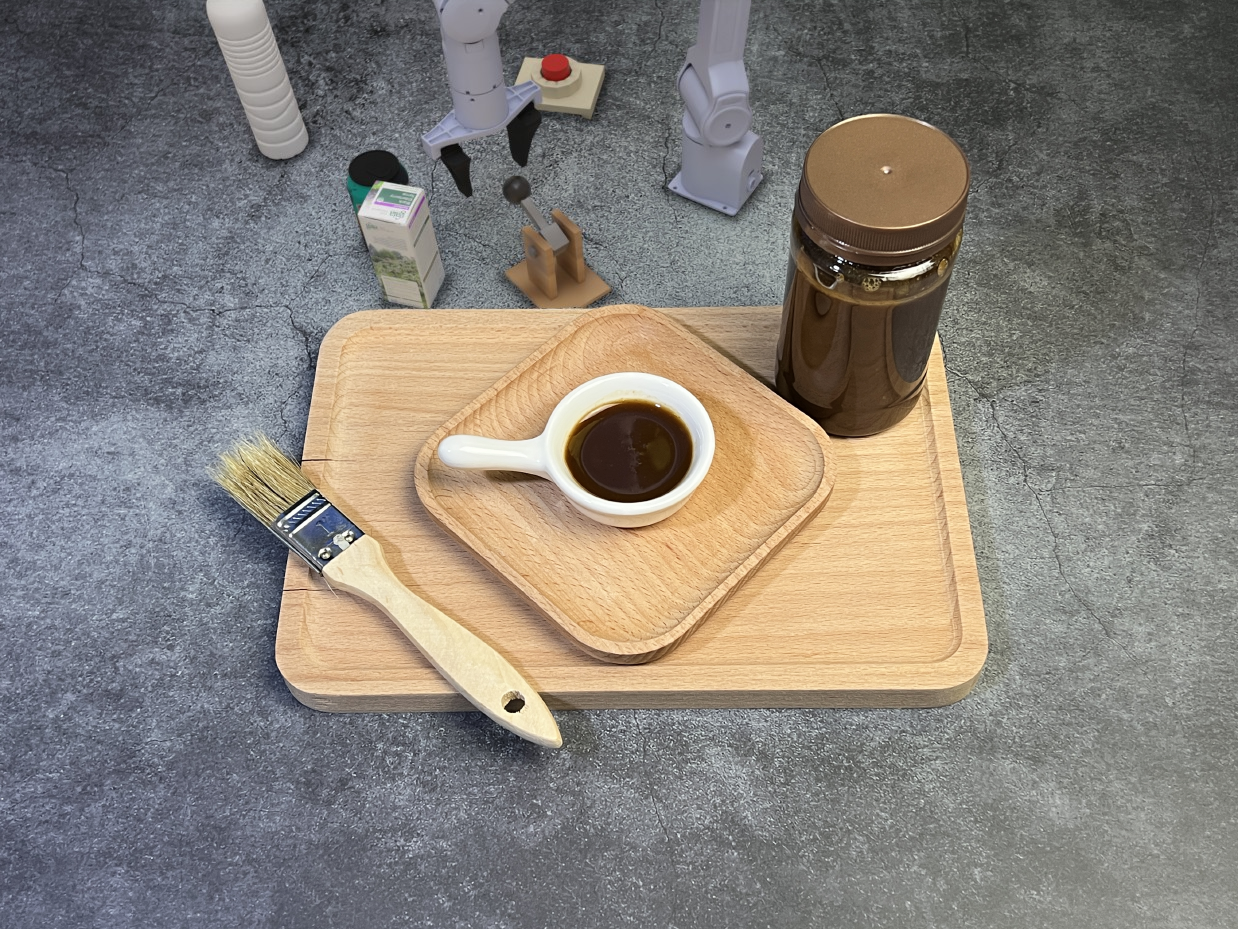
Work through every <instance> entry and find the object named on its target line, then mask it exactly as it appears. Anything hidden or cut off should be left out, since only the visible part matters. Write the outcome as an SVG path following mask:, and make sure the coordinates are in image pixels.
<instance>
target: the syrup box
mask: <svg viewBox="0 0 1238 929" xmlns="http://www.w3.org/2000/svg"><path fill="white" fill-rule="evenodd" d="M357 215H358V218H359V221H360V224H361V228H362V231H363V234H364V237H365V240H366V243H367V246H368V249H369V252H370V253H369V252H368V253H369V255H370V259H371V261H372V265H373V268H374V272H375V274H376V278H377V280H378V283H379V285H380V289H381V293H382V296H383V299H384V301H386V302H390V303H394V304H400V305H404V306H409V307H414V308H418V309H423V308H431V307H432V305H433V303H434V301H435V299H436V296H437V294H438V293H439V290H440V288H441V286H442V284H443V282H444V281H445V278H446V273H445V269H444V266H443V262H442V259H441V254H440V250H439V246H438V241H437V238H436V234H435V233H436V232H435V230H434V224H433V221H432V217H431V216H432V215H431V211H430V207H429V204H428V199H427V195H426V192H425V189H424V188H421V187H415V186H411V187H410V186H405V185H399V184H394V183H388V182H383V181H378V180H377V181H376V182H375V183H374V185H373V187H372V188H371V190H370V191H369V193H368V195H367V196H366V198H365V200H364V202H363V204H362V206H361V208H360V211H359V212H358V214H357Z"/></svg>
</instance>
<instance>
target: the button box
mask: <svg viewBox="0 0 1238 929" xmlns="http://www.w3.org/2000/svg"><path fill="white" fill-rule="evenodd" d="M564 56H565V57H567V58H568V60H569V69H570V74H569V77H568V78H566V79H565V80H562V81H558V82H554V81H548V80H546V79H544V77H543V74H542V65H541V63H542V60H543V59H544V58H545V57H542V58H536V57H528V56H527V57H526V56H525V57H524V58H523V61H522V65H521V67H520V70H519V72H518V75H517V78H516V80H515V82H514V85H518V84H521V83H524V82H526V81H529V80H532V81H533V82H535V83H536V84H537V85H538V86H539V87H541V90H542V100H543V102H542V103H540V104H538V105H534V107H535V108H536V109H537V110H538V111H546V112H554V113H564V114H571V115H581V116H582V117H583V118H584V119H586V120H592V118H593V114H594V111H595V107H596V104H597V101H598V99H599V96H600V92H601V89H602V85H603V83H604V79H605V76H606V74H605V73H606V70H605V65H603V64H594V63H585V62H578V61H577V60H575V59H573V58H571V57H570V56H568V55H567V56H566V55H564Z"/></svg>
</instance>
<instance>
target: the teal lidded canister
mask: <svg viewBox="0 0 1238 929" xmlns="http://www.w3.org/2000/svg"><path fill="white" fill-rule="evenodd" d="M347 169H348V170H347V172H348V174H347V177H346V184H345V185H346V189H347V192H348V195H349V198H350V202H351V205H352V208H353V211H354V214H355V218H356V220H357V224H358V227H359V230H360V234H361V236H362V240H363V243H364V246H365V249H366V250H367V252H368V253H369V254H370V252H369V249H368V246H367V243H366V240H365V237H364V234H363V231H362V228H361V224H360V221H359V218H358V215H357V214H358V212H359V211H360V208H361V206H362V204H363V202H364V200H365V198H366V196H367V195H368V193H369V191H370V190H371V188H372V187H373V185H374V183H375V182H376V181H377V180H378V181H383V182H388V183H394V184H399V185H405V186H410V187H412V184H411V181H410V177H409V172H408V170H407V168H406V167H405V165H404V164H403V163H401V162H400V161H399V158H398V157H397V156H396V155H395V153H392V152H391V151H388V150H385V149H371V150H370V149H369V150H367V151H363V152H362V153H360V154H358V155H356V156H355V157H354V158H353V159H352V160H351V161H350V162H349V165H348V167H347Z"/></svg>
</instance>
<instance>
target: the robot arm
mask: <svg viewBox="0 0 1238 929" xmlns="http://www.w3.org/2000/svg"><path fill="white" fill-rule="evenodd" d="M431 1H432V3H433V5H434V8H435V11H436V13H437V17H438V19H439V24H440V28H439V32H440V36H441V38H442V39H441V46H442V51H443V56H444V62H445V68H446V73H447V78H448V82H449V87H450V93H451V99H452V102H453V109H451V110H450V112H448V113H447V114H446V115H445V117H443V118H442V119H441V120H440V121H439V122H438V123H437V124H436V125H435V126H434V127H433V128H432V129H431V130H429V131H428V132H427V133H424V134H423V135H421V136H420V140H421V144H422V148H423V152H425V153H426V155H428V156H429V157H430V158H431V159H432V160H437V159H440V160H441V162H442V164H443V165H444V166H445V168H446V170H447V171H448V172H449V174H450V176H451V177H452V179H453V181H454V183H455V186H456V188H457V190H458V191H459V192H460V193H461V194H462V195H463V196H464V197H465V198H467V199H469V198H471V197H472V196H473V191H474V190H473V184H472V180H471V161H472V158H471V157H470V156H469V155H467V153H465V151H463V147H462V146H461V145H460V143H463V142H467V141H471V140H475V139H480V138H484V137H488V136H492V135H495V134H497V133H499V132H501V131H502V130H504V129H506V133H507V139H508V145H509V153H510V155H511V158H512V160H513V161H514V162H515V163H517V165H519V167H521V169H524V168H525V167H527V165H528V161H529V155H530V150H531V146H532V142H533V140H534V137H535V136H536V133H537V131H538V130H539V127H540V126H541V124H542V123H543V119H542V113H541V111H540V110H537V109H536V108H535V107H534V105H538V104H540V103H542V102H543V100H542V90H541V87H539V86H538V85H537V84H536V83H535V82H533V81H532V80H529V81H526V82H524V83H521V84H518V85H515V84H514V85H510V86H506V82H505V76H504V70H503V68H504V67H503V63H502V56H501V48H500V39H499V36H498V33H497V29H498V27H499V25H500V21H501V18H502V16H503V15H504V14H505V13H506V12H507V11H508V8H509V6H510V5H511V4H514V2H516V1H517V0H431ZM751 6H752V0H700V6H699V15H698V23H697V24H698V25H697V32H696V42H695V44H694V45H692V46H690V47H688V49H687V50H686V58H685V61H684V63H683V65H682V68H680V70H679V71H678V74H677V76H676V84H675V86H676V90H677V92H678V94H679V96H680V97H681V98H682V99H683V101H684V104H685V106H684V107H685V110H684V112H683V117H682V121H681V122H682V124H681V125H682V129H681V135H682V136H681V167H680V168H681V169H680V170H679V171H678V173H676V175H675V176H674V177H673V178H672V180H671V181H670V182H669V183H668V184H667V188H668V189H669V190H670V191H672V192H673V193H674V194H676V195H678V196H681V197H683V198H685V199H688V200H690V201H693V202H696V203H698V204H701V205H703V206H705V207H708V208H710V209H713V210H716V211H717V212H721V213H723V214H725V215H728V216H730V217H732V216H733V217H734V216H736V215H737V214H738V212H739V211H740V209H741V208H742V207H743V206H744V204H745V203H746V202H747V200H749V198H750V196H751V195H752V194H753V192H754V191H755V190H756V188H757V187H758V186H759V185H760V183H761V182H762V180H764V175H763V174H762V167H763V166H762V165H763V159H764V158H763V156H764V148H765V147H764V146H765V144H764V139H763V137H762V136H760V135H758V134H756V133H755V132H753V131H752V130H751V127H752V124H753V122H754V113H753V110H752V107H751V105H750V101H749V98H750V91H751V90H750V85H749V80H748V77H747V71H746V68H745V64H744V53H745V47H746V40H747V33H748V26H749V20H750V14H751Z"/></svg>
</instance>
